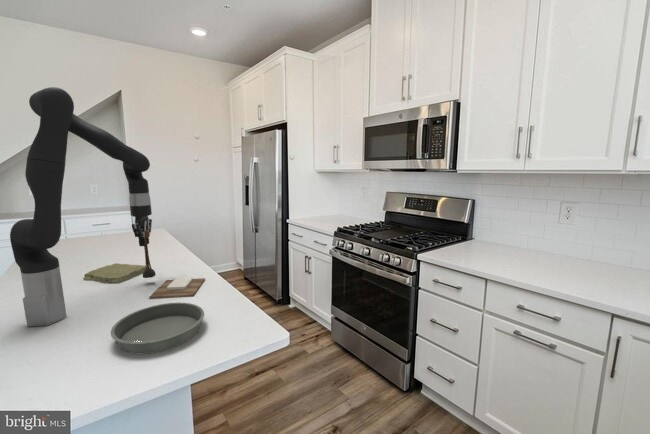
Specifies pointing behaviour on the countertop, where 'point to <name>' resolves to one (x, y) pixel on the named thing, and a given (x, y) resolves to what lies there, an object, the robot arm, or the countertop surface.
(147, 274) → the wooden tabletop sculpture
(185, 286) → the glazed tile
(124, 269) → the olive green flat slab
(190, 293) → the walnut board
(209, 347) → the countertop surface
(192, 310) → the cake pan
